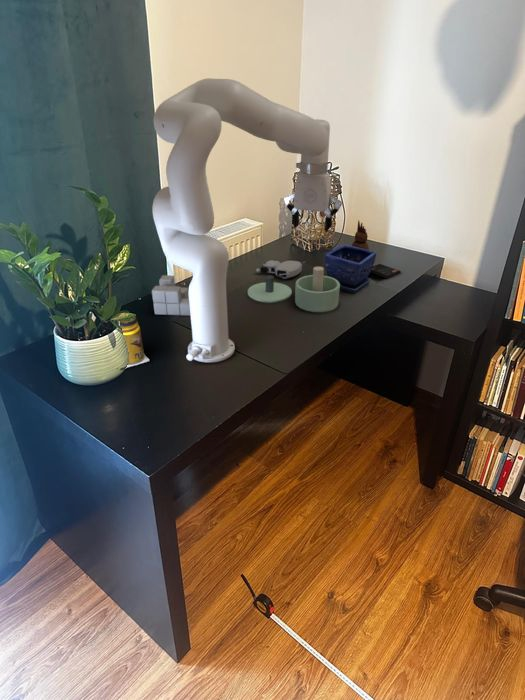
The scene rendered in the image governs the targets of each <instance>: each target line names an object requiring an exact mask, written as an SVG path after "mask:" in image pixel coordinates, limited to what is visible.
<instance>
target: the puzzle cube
mask: <svg viewBox="0 0 525 700" xmlns="http://www.w3.org/2000/svg"><path fill="white" fill-rule="evenodd" d="M175 279H176V278H175V275H169V274H168V275H167V274H165V275H164V274H162V275H161V277H160V278H159V281H158V282H159V285H155V286H153V288H152V290H151V296H152V302H153V311H154V315H165V316H187V317H188V316H190V317H191V315H190V304H189V295H188V289H189V287H182V286H179V285H178V286H177V285H176V281H175Z"/></svg>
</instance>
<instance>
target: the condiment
mask: <svg viewBox="0 0 525 700" xmlns="http://www.w3.org/2000/svg"><path fill="white" fill-rule="evenodd" d="M134 316H135V317H134V318H133V319H130V320H125V321H120V326H121V328H122V332H123V335H124V338H125V341H126V345H127V348H128V352H129V362H128V365H127V367H126V368H125V369H127V368H130V367H134V366H138V365H141V364H144V363H147V362H150V359H149V358H148V357H147V356H146V354H145V353H144V345H143V339H142V333H141V332H142V331H141V326H140V325H139V322H138V317H137V316H136V315H134Z"/></svg>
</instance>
